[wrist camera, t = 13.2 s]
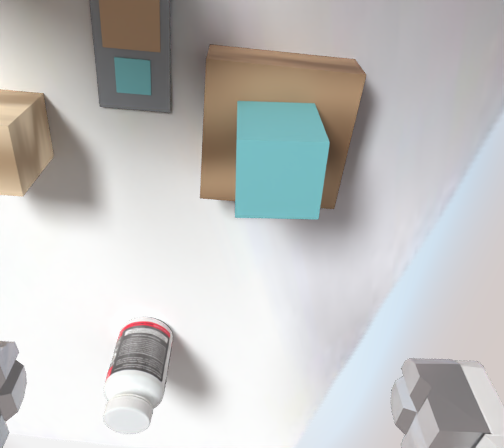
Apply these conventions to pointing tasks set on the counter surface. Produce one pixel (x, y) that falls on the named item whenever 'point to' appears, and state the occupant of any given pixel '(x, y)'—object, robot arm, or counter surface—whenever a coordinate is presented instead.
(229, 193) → the walnut plinth
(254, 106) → the teal block
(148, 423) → the pill bottle
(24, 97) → the birch block
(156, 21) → the card
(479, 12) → the counter surface
